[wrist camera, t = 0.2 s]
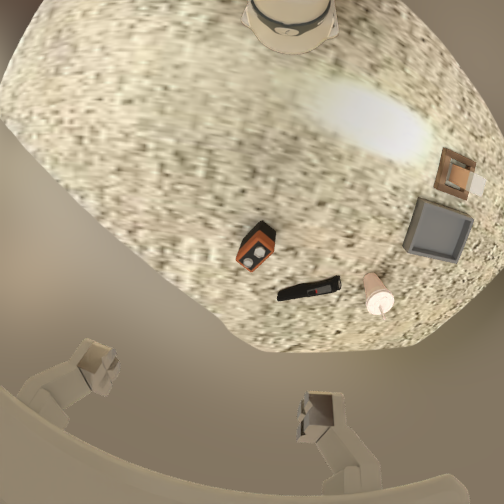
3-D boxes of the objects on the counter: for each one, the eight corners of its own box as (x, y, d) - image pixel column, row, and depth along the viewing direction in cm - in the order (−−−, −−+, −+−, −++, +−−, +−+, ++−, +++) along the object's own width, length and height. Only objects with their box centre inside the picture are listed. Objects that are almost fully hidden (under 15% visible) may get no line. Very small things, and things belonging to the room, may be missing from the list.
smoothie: (353, 284, 62) (365, 323, 50) (367, 263, 59) (383, 300, 47) (373, 293, 62) (387, 331, 50) (387, 273, 59) (406, 309, 47)
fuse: (449, 162, 45) (474, 172, 36) (461, 167, 45) (486, 178, 36) (445, 179, 47) (469, 191, 38) (457, 184, 47) (481, 197, 38)
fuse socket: (443, 147, 44) (447, 148, 42) (471, 160, 43) (476, 162, 42) (433, 187, 48) (437, 189, 47) (462, 197, 48) (466, 200, 46)
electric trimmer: (275, 286, 65) (274, 294, 63) (339, 273, 61) (341, 281, 59) (279, 298, 67) (278, 306, 64) (341, 286, 63) (343, 294, 60)
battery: (277, 232, 58) (275, 253, 49) (256, 252, 61) (250, 276, 52) (261, 218, 57) (256, 238, 49) (241, 240, 60) (233, 262, 51)
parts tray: (418, 197, 50) (424, 202, 47) (466, 213, 49) (474, 219, 46) (402, 245, 56) (407, 253, 53) (450, 257, 55) (456, 263, 52)
